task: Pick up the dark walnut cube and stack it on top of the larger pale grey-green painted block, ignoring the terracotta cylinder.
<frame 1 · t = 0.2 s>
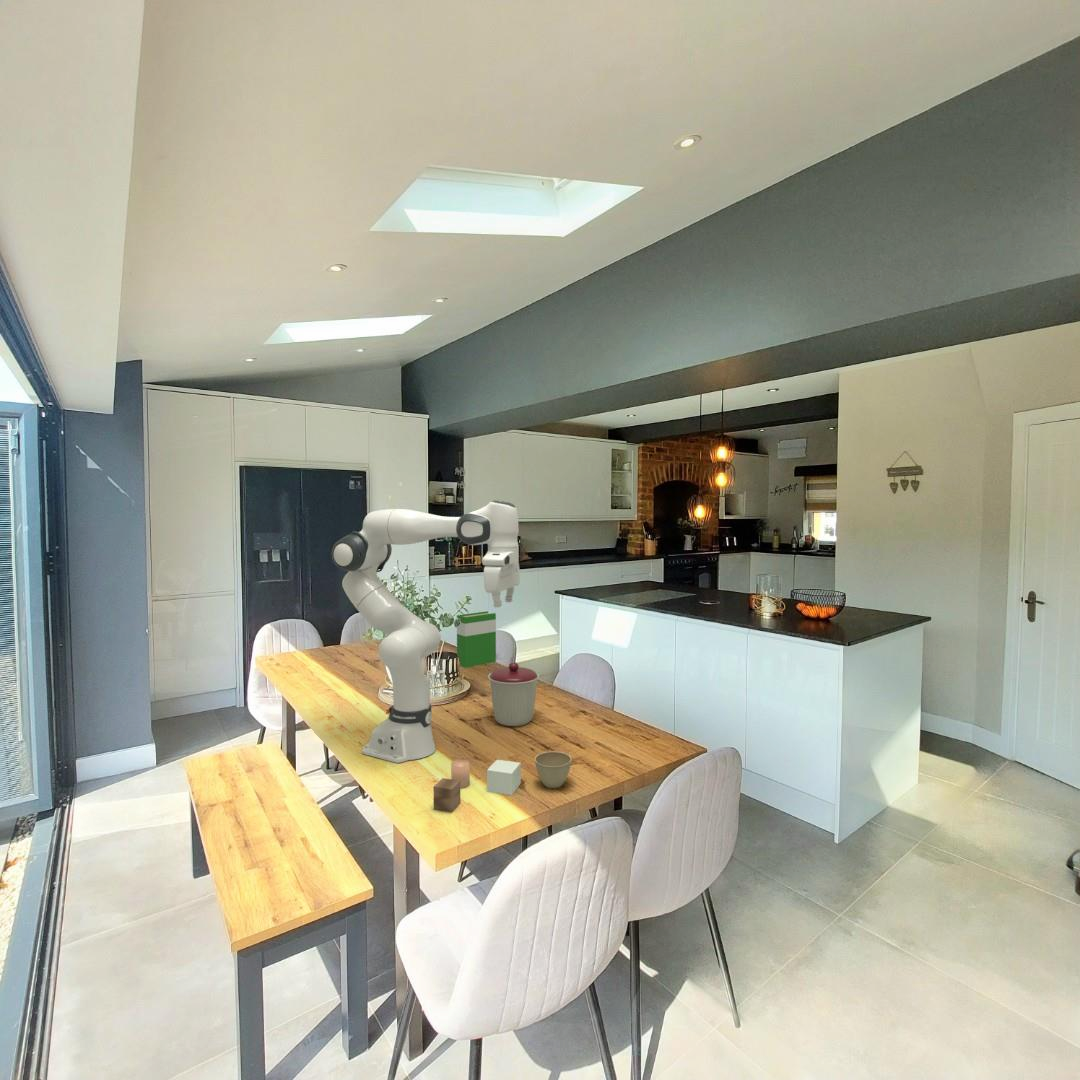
hand: (503, 604, 174), 47 cm above the table, fingers open, 8 cm apart
hardback book: (476, 663, 292), on the table
grey block: (504, 788, 162), on the table
canister: (513, 722, 212), on the table
walnut block: (447, 806, 152), on the table
flower pot: (553, 784, 164), on the table
terracotta cylinder: (460, 784, 164), on the table
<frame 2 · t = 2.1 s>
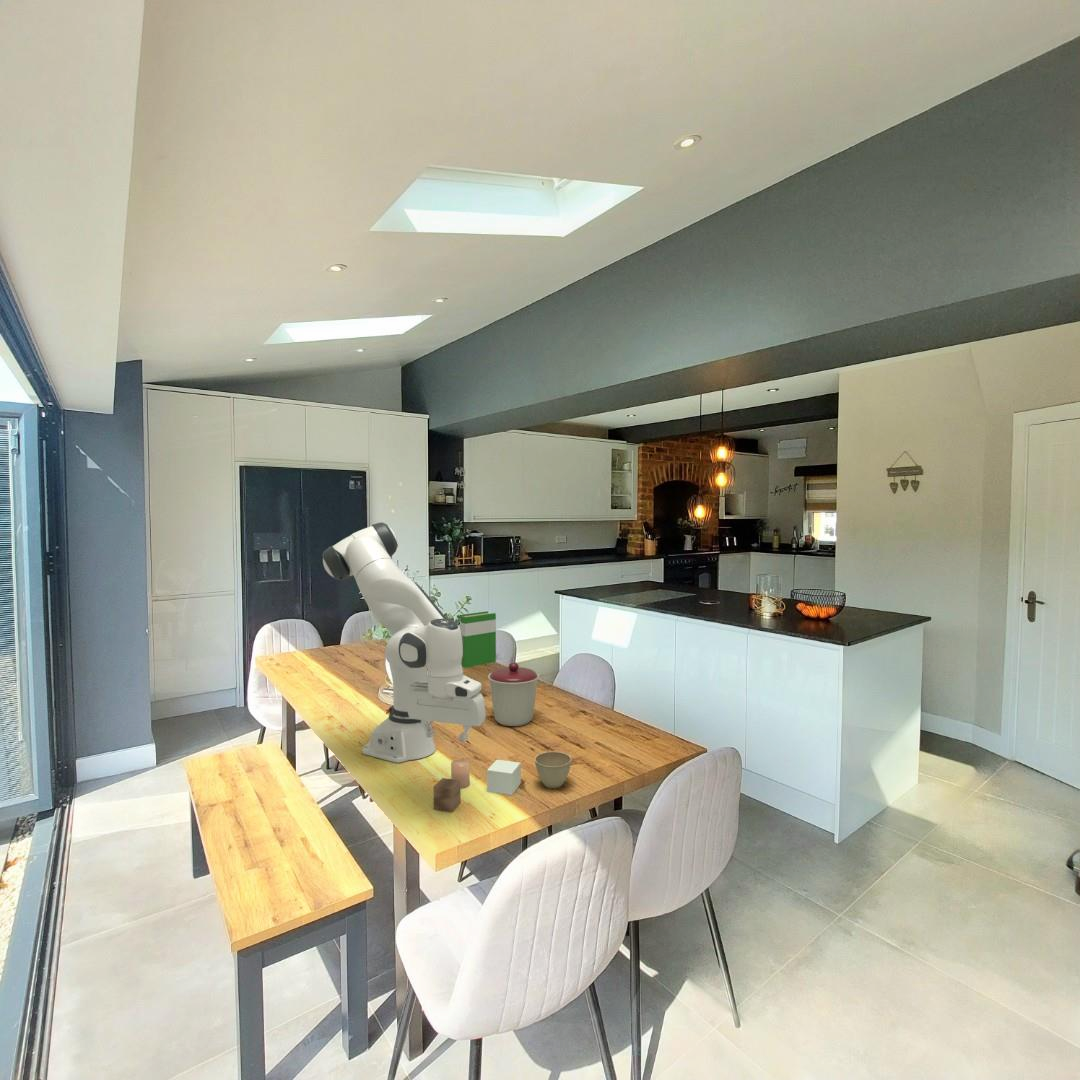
hand: (446, 738, 151), 17 cm above the table, fingers open, 8 cm apart
nothing on the table moved.
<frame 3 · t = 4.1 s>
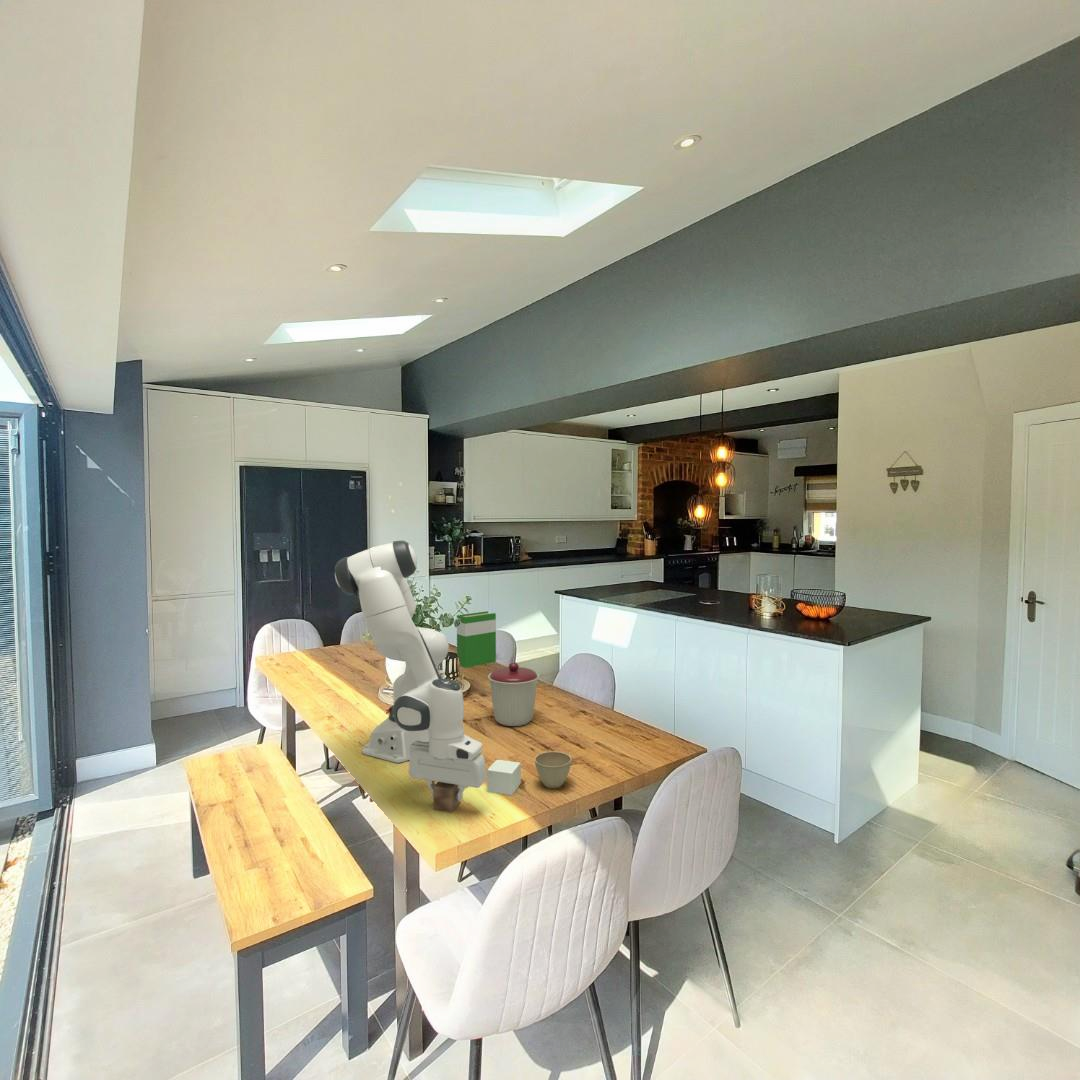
hand: (447, 798, 151), 2 cm above the table, fingers closed on walnut block, 5 cm apart
walnut block: (447, 806, 152), on the table, touching gripper
everything else where it was.
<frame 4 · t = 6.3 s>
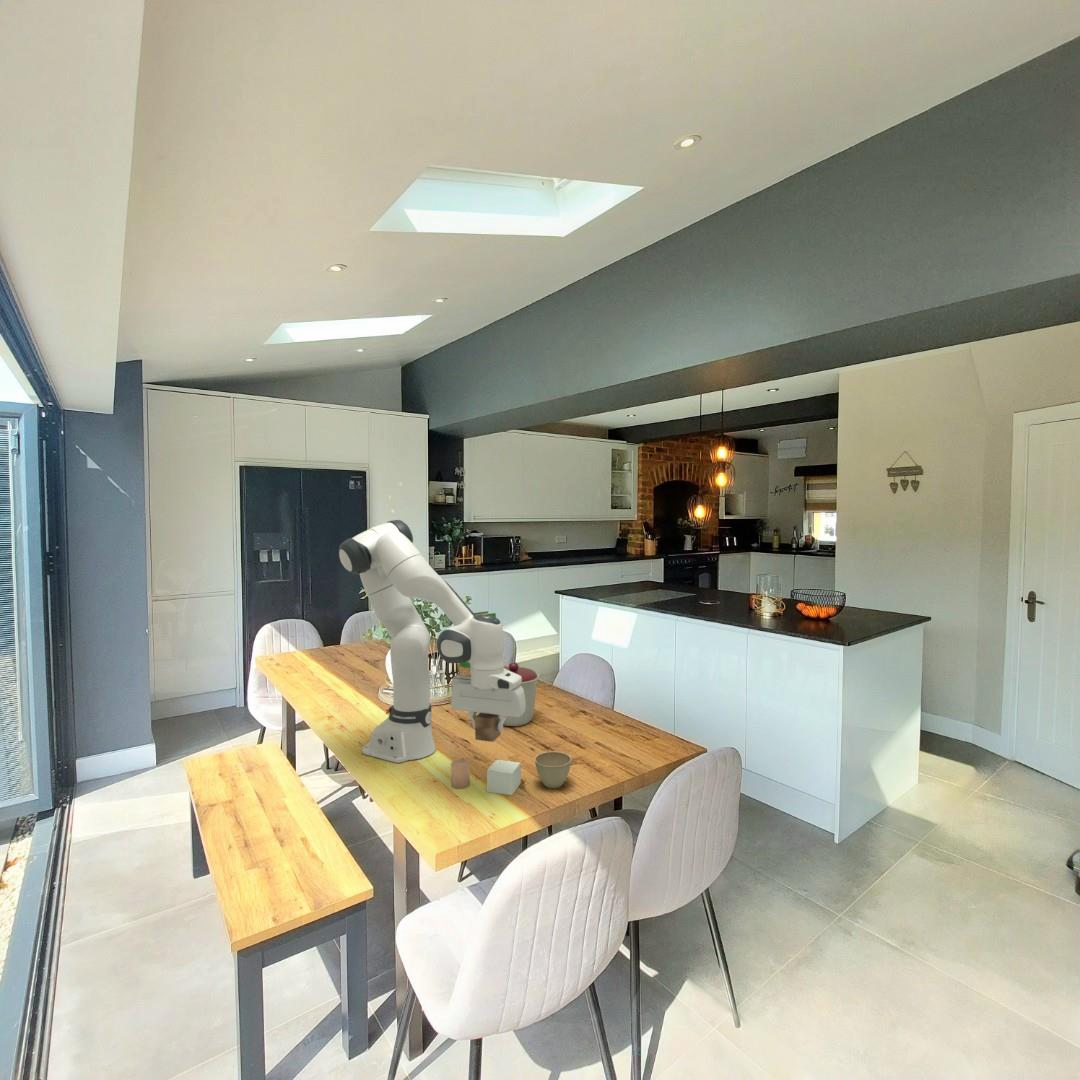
hand: (488, 728, 158), 17 cm above the table, fingers closed on walnut block, 5 cm apart
walnut block: (488, 737, 158), point 15 cm above the table, touching gripper
everything else where it was.
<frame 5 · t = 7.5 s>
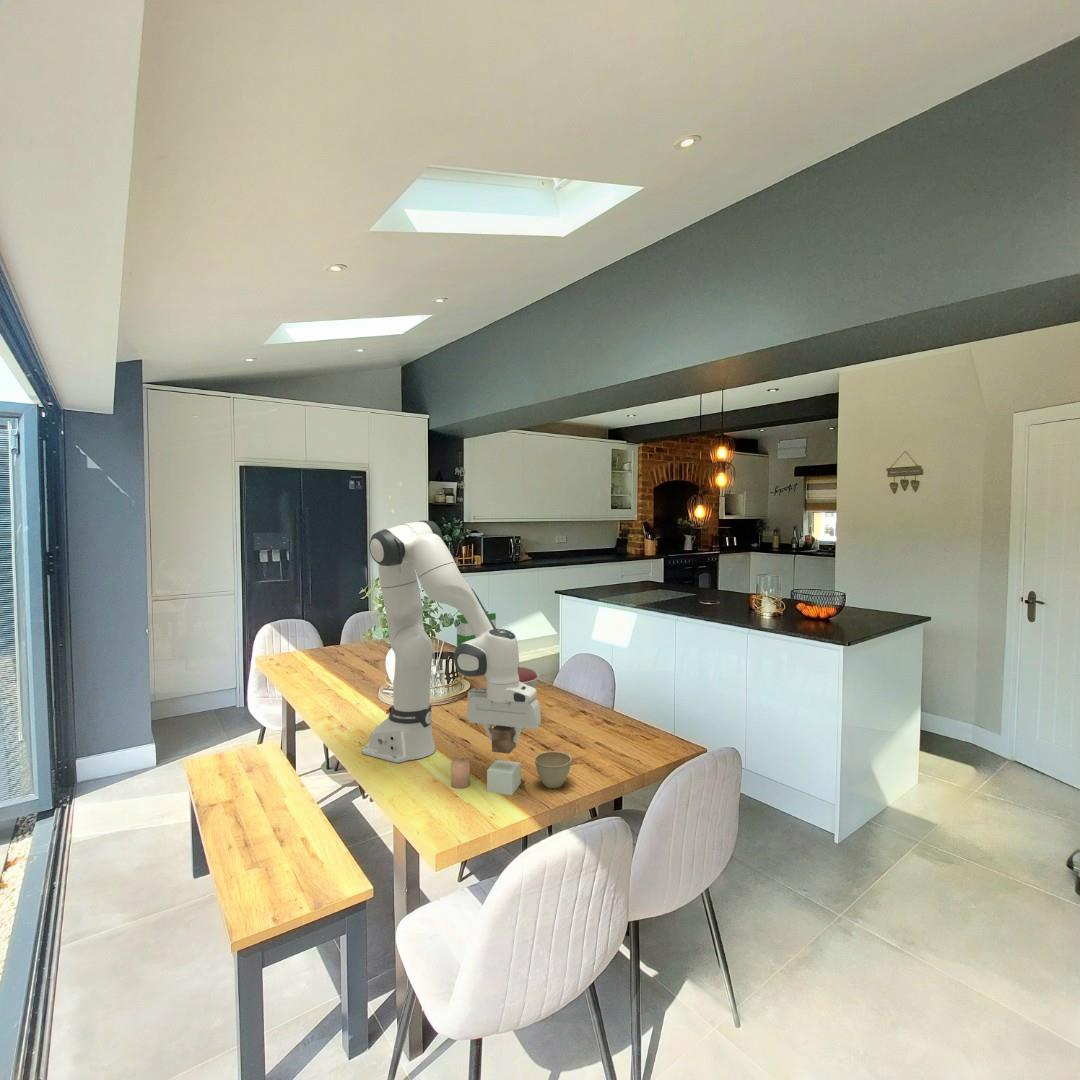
hand: (503, 741, 161), 13 cm above the table, fingers closed on walnut block, 5 cm apart
walnut block: (504, 748, 161), point 11 cm above the table, touching gripper
everything else where it was.
when the fingers open (9 cm above the table, at t = 8.6 s): walnut block stays where it is, resting on grey block.
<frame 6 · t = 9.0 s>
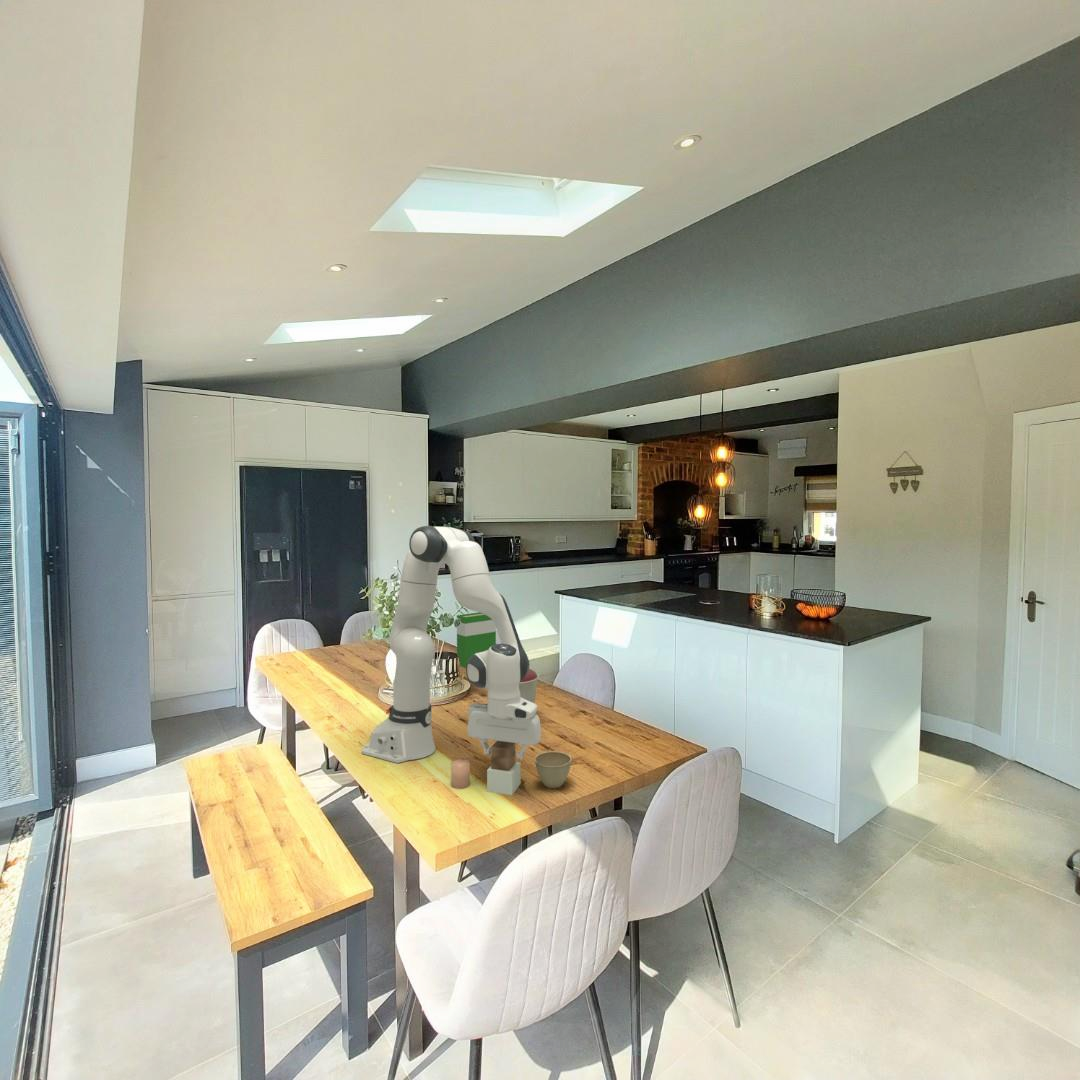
hand: (504, 756, 161), 9 cm above the table, fingers open, 8 cm apart
grey block: (504, 788, 162), on the table, touching walnut block
walnut block: (503, 766, 162), point 6 cm above the table, touching grey block
everything else where it was.
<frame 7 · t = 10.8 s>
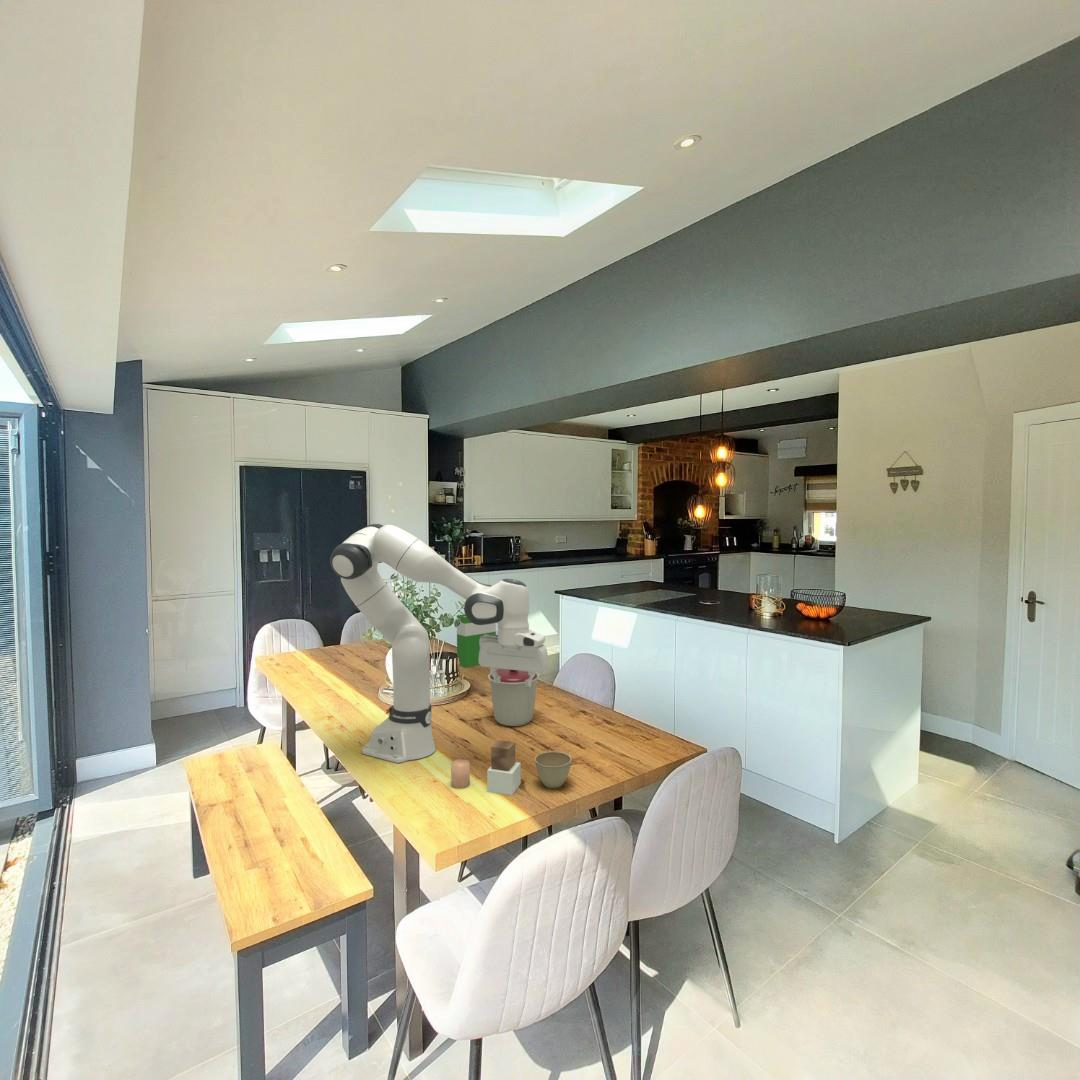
hand: (512, 684, 170), 25 cm above the table, fingers open, 8 cm apart
nothing on the table moved.
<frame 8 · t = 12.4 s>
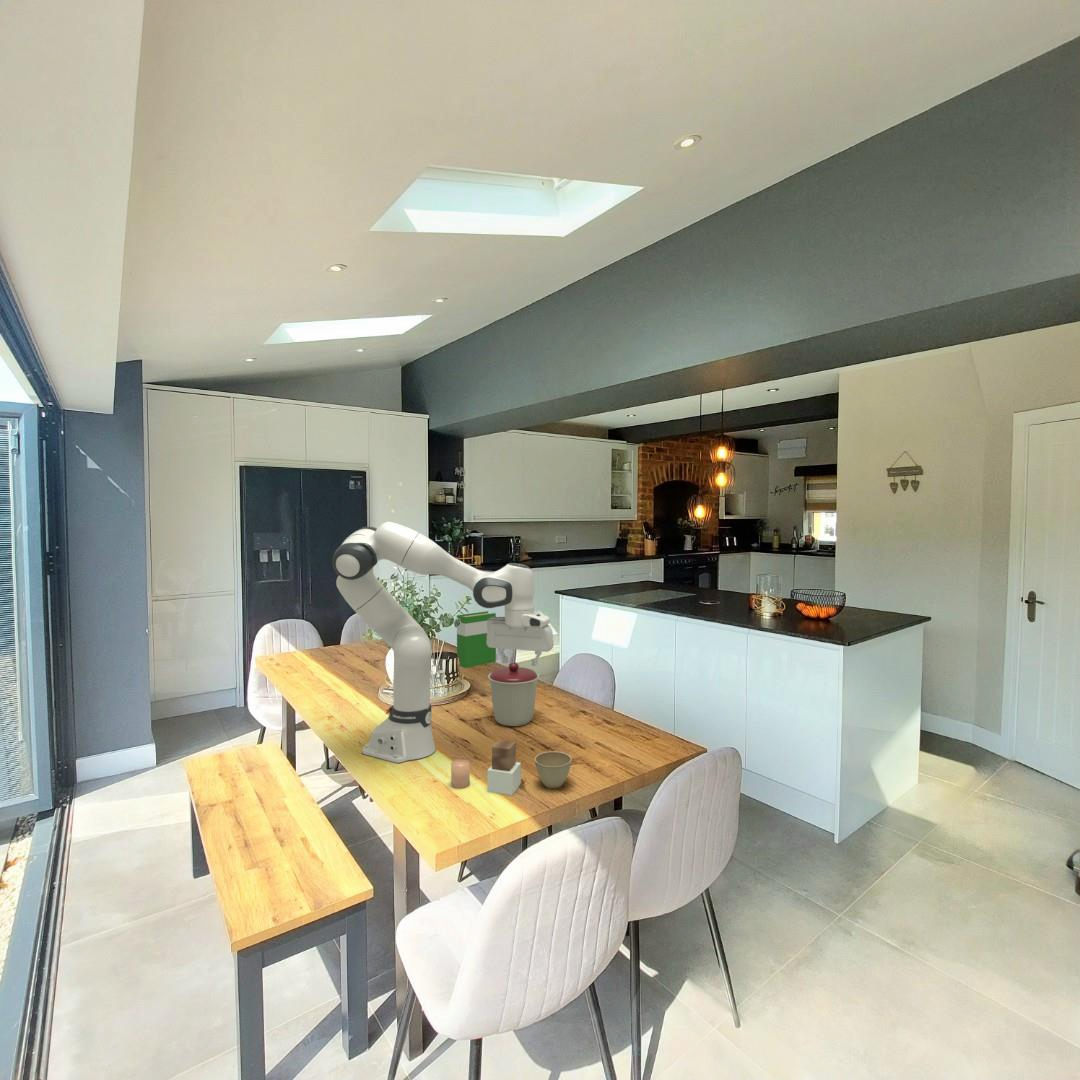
hand: (519, 664, 178), 29 cm above the table, fingers open, 8 cm apart
nothing on the table moved.
at the end: walnut block 0.2 cm off-centre on the grey block, point 6.0 cm above the grey block's base; walnut block tilted 0°; the gripper is holding nothing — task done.
